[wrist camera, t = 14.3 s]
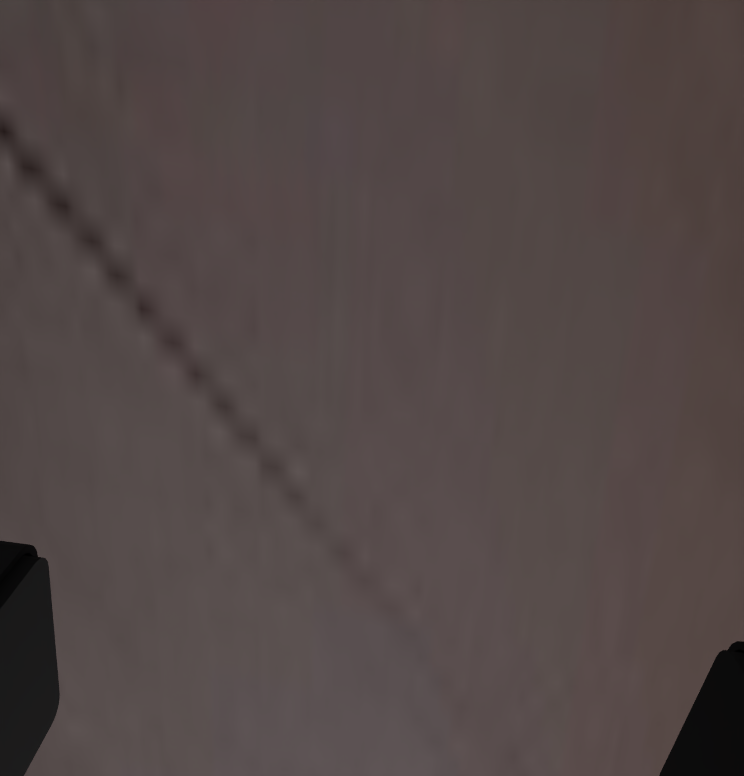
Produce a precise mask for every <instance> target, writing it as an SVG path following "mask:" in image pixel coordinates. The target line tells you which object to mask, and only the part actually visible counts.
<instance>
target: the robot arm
mask: <svg viewBox="0 0 744 776" xmlns="http://www.w3.org/2000/svg"><path fill="white" fill-rule="evenodd" d="M59 694H60V693H59V682H58V670H57V659H56V647H55V635H54V624H53V612H52V601H51V589H50V578H49V566H48V562H47V560H46V559H45V558H41V557H38V555H37V551H36V549H35V547H34V546H32V545H28V544H20V543H13V542H6V541H0V776H24V774H25V772H26V771H27V769H28V767H29V765H30V763H31V761H32V760H33V758H34V756H35V754H36V752H37V750H38V749H39V747H40V745H41V743H42V741H43V739H44V738H45V736H46V734H47V732H48V730H49V728H50V727H51V725H52V723H53V720H54V718H55V715H56V712H57V709H58V705H59ZM660 776H744V642H739V641H737V642H735V643H733V644H732V645H731V646H730V647H729V649H728V650H723V651H721V652H719V654H718V655H717V657H716V659H715V661H714V663H713V665H712V667H711V669H710V671H709V673H708V675H707V677H706V679H705V681H704V684H703V686H702V688H701V690H700V692H699V694H698V696H697V698H696V700H695V702H694V704H693V706H692V708H691V710H690V713H689V715H688V717H687V719H686V721H685V723H684V725H683V727H682V729H681V731H680V733H679V735H678V737H677V739H676V742H675V744H674V746H673V748H672V750H671V752H670V754H669V756H668V758H667V760H666V762H665V764H664V766H663V768H662V771H661V773H660Z"/></svg>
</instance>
